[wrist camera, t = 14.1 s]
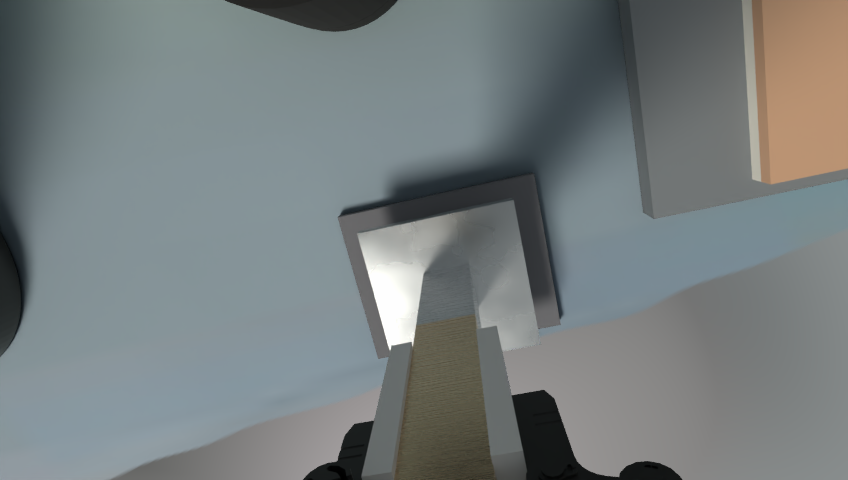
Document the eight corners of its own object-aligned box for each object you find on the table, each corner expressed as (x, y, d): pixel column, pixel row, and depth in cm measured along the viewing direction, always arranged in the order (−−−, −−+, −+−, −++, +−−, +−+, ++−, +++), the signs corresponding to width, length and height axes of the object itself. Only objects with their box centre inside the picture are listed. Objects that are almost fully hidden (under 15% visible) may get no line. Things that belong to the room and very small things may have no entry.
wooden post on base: (396, 365, 28) (315, 781, 11) (359, 230, 26) (187, 488, 9) (538, 339, 27) (690, 746, 10) (512, 197, 25) (645, 412, 8)
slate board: (643, 212, 27) (653, 218, 26) (615, -23, 24) (625, -30, 23) (960, 146, 25) (991, 149, 24) (974, -117, 22) (1010, -131, 21)
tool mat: (379, 354, 30) (378, 358, 30) (339, 215, 28) (337, 217, 28) (558, 321, 29) (560, 324, 29) (532, 172, 27) (534, 174, 26)
